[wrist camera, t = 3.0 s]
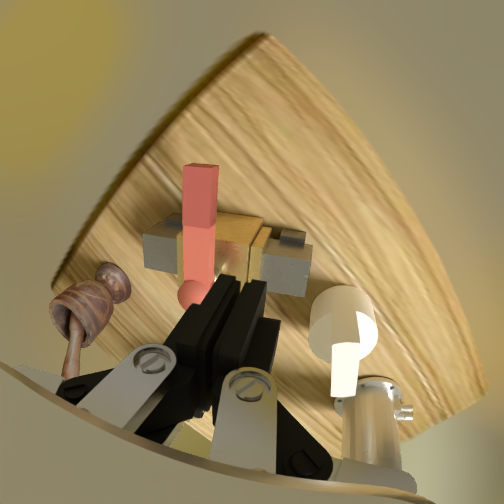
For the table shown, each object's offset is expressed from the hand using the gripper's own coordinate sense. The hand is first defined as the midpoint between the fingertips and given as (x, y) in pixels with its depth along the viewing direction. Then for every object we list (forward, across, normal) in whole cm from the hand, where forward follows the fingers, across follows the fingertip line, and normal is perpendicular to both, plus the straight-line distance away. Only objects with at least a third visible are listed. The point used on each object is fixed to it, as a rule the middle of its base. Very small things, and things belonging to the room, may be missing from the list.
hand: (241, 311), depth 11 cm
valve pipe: (+27, +7, +9) cm, 29 cm away
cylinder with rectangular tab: (+27, -9, +17) cm, 33 cm away
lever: (+15, +7, +4) cm, 17 cm away
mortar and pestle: (+27, +27, +21) cm, 44 cm away
